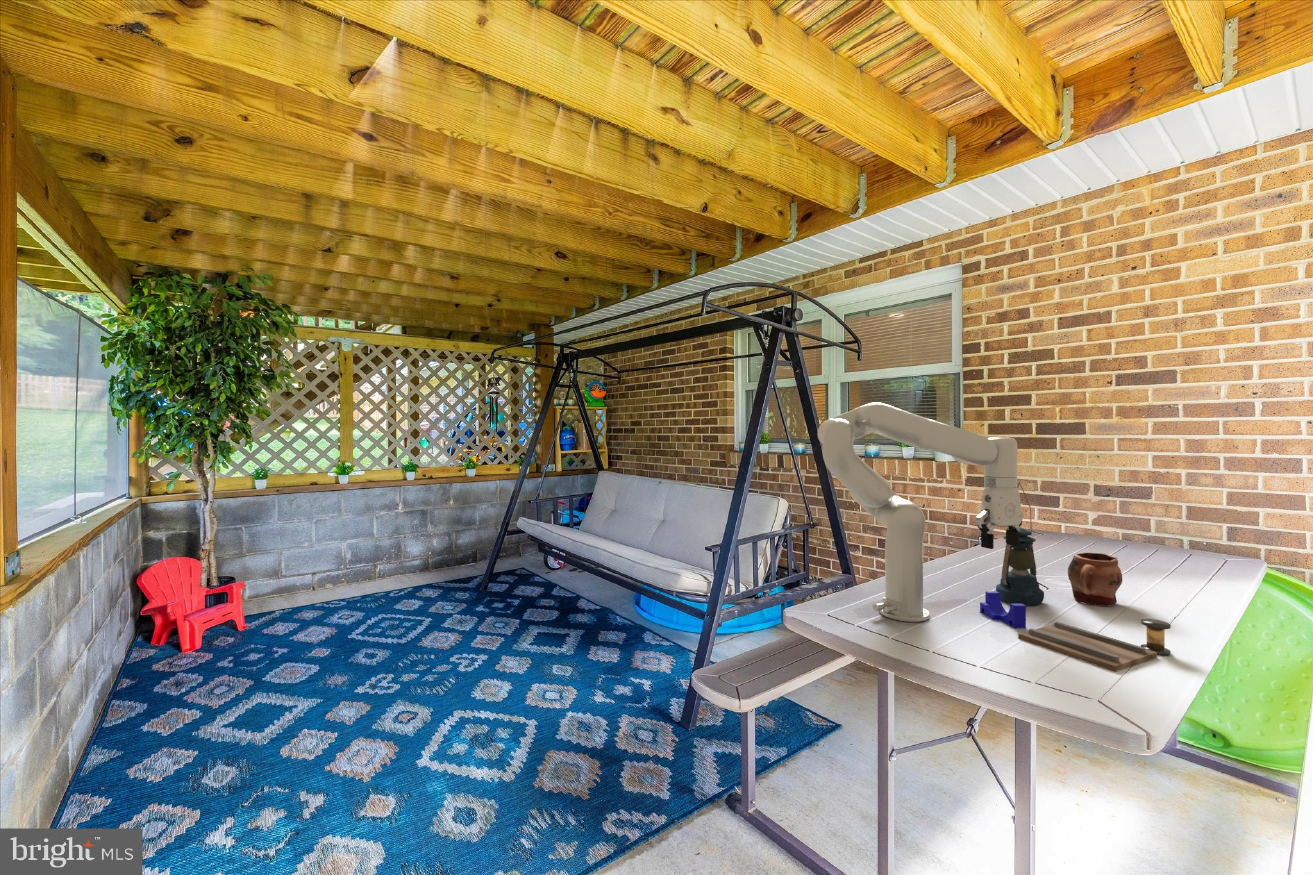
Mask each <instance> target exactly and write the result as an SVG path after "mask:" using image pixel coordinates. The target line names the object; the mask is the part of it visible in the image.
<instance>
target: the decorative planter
mask: <svg viewBox="0 0 1313 875" xmlns="http://www.w3.org/2000/svg"><path fill="white" fill-rule="evenodd" d="M1121 570H1122V569H1121V568H1120V566H1119V560H1118V558H1117V556H1112V555H1109V554H1106V553H1102V552H1101V553H1100V552H1079V553H1075V554H1074V556H1073V558H1072V559H1071V561H1070V563H1069V565H1068V568H1067V577H1068V579H1069V582H1070V585H1071V589H1072V590H1071V591H1072V596H1073V598H1074V600H1075V601H1076V602H1077V603H1081V604H1086V605H1091V606H1098V607H1112V606H1115V605H1116V604H1117V602H1118V601H1117V596H1116V594H1117V592H1118V590H1119V589H1120V587H1121V586H1122V584H1123V574H1122V571H1121Z"/></svg>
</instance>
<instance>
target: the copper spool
mask: <svg viewBox="0 0 1313 875" xmlns="http://www.w3.org/2000/svg"><path fill="white" fill-rule="evenodd" d="M1140 624H1142V625H1143V626H1145V627H1146V643H1143V644H1140V647H1143V648H1146V649H1147V650H1150V651H1154V652H1157V656H1162V657H1169V656H1171V655H1172V654H1171V653H1172V652H1171V650H1170V649H1168V648H1166V647H1165V644H1166V643H1165V640H1166V639H1165V636H1166V635H1165V630H1170V629H1171V628H1172V627H1171V626H1172V625H1171V624H1170V623H1169V622H1166V621H1164V620H1161V619H1154V618H1141V619H1140Z"/></svg>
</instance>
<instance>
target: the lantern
mask: <svg viewBox="0 0 1313 875" xmlns="http://www.w3.org/2000/svg"><path fill="white" fill-rule="evenodd" d="M1019 486H1020V488H1021V490H1022V492H1023V495H1024V497H1025V499H1026V502H1027V505H1028V508H1029V514H1030V515H1029V516H1030V518H1029V519H1030V530H1028V529H1026V528H1024V527H1020V531H1019V545H1018V546H1014V545H1009V544H1005V549H1004V555H1003V562H1002V568H1001V578H1000V581H999V583H998V584H997V585H996V586H995V591H997V592H999V593H1000V600H1001V602H1005V603H1007V604H1024V605H1026V607H1038V606H1040V605H1042V603H1043V601H1044V599H1045V591H1044V590H1043V589H1041V588H1040V582H1038V578H1037V564H1036V558H1035V553H1034V548H1033V545H1034V542H1036V540H1037V539H1036V538H1035V537H1032V536H1033V534H1032V533H1033V530H1032V529H1033V528H1032V527H1033V526H1032V509H1031V504H1030V503H1029V500H1028V498H1027V495H1026V494H1025V491H1024V488H1023V486H1022V484H1021V482H1018V483H1017V488H1018V489H1019ZM1006 528H1007V527H1006ZM1007 529H1008V528H1007ZM1008 530H1009V529H1008ZM1002 538H1003V539H1004V540H1006V535H1004V536H1003V537H1002ZM1010 568H1011V570H1010ZM1009 570H1010V571H1009Z"/></svg>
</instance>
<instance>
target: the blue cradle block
mask: <svg viewBox="0 0 1313 875" xmlns="http://www.w3.org/2000/svg"><path fill="white" fill-rule="evenodd" d="M984 593H985V597H984V598H985V599H984V602H983V601H980V602H979V613H980V614H982V615H984V616H985V615H986V616H985V617H987V618H989V619H991V620H993V621H1000V622H1002V623H1004V624H1005V625H1008V626H1009V627H1011V628H1012V629H1027V606H1026V605H1024V604H1011V603H1009V610H1008V612H1007V611H1006V609H1005V607H1004V605H1003V603H1002V600H1000V593H999V592H997V591H996V590H995V591H993V590H992V591H988V590H987V591H985V592H984Z"/></svg>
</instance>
